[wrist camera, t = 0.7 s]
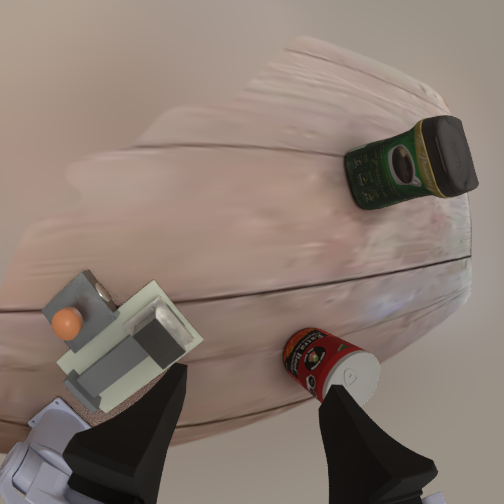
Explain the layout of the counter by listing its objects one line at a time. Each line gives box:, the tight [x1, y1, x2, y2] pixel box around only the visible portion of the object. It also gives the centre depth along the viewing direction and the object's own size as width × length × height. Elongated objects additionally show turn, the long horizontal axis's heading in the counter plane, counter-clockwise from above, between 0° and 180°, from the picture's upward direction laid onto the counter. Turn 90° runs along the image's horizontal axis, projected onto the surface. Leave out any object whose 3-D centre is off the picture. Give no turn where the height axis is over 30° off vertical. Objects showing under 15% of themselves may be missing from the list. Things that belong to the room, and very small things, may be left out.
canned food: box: [284, 328, 380, 407], centre depth 31 cm, size 8×8×11 cm
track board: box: [56, 280, 204, 413], centre depth 27 cm, size 17×9×4 cm, turn 127°
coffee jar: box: [346, 115, 479, 210], centre depth 30 cm, size 10×8×19 cm
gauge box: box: [41, 270, 120, 354], centre depth 25 cm, size 7×6×3 cm
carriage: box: [123, 296, 195, 369], centre depth 26 cm, size 5×6×6 cm
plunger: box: [52, 307, 83, 341], centre depth 21 cm, size 3×3×2 cm
